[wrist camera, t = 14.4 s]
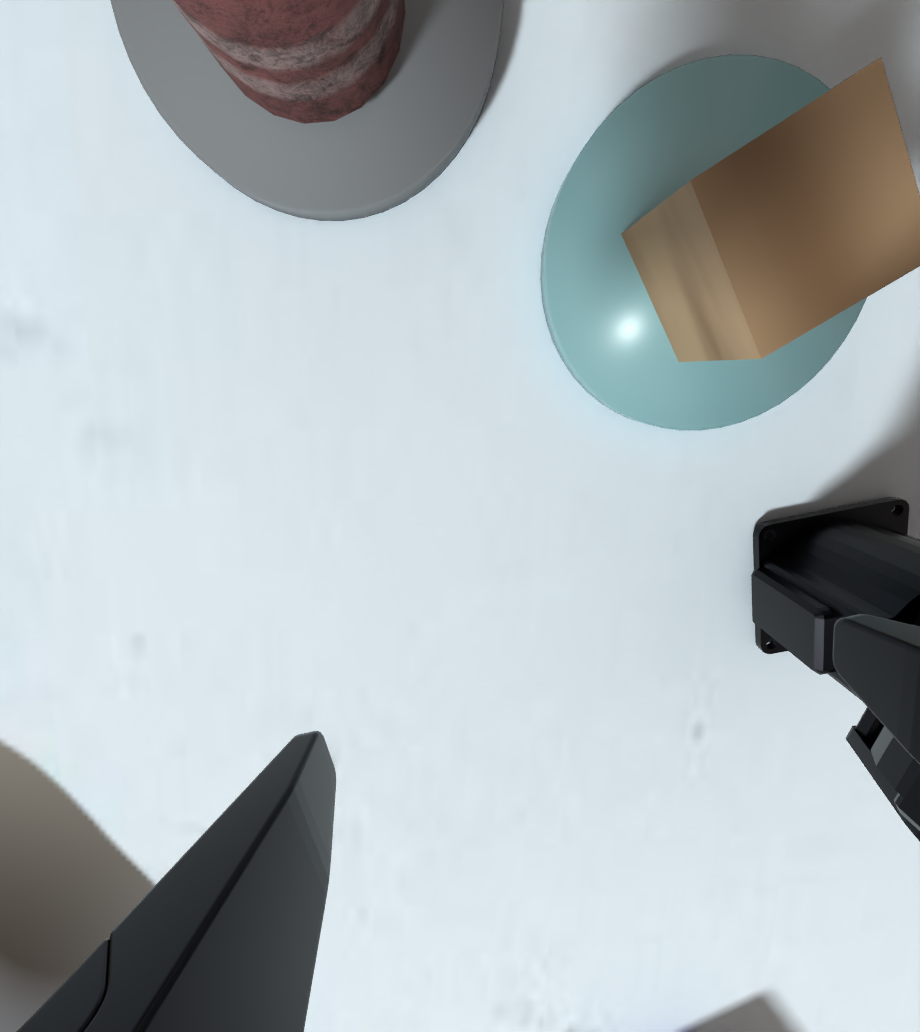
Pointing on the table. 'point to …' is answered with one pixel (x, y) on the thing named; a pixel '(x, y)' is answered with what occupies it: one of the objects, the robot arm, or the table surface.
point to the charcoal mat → (324, 145)
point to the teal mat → (610, 268)
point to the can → (302, 50)
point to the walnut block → (784, 228)
